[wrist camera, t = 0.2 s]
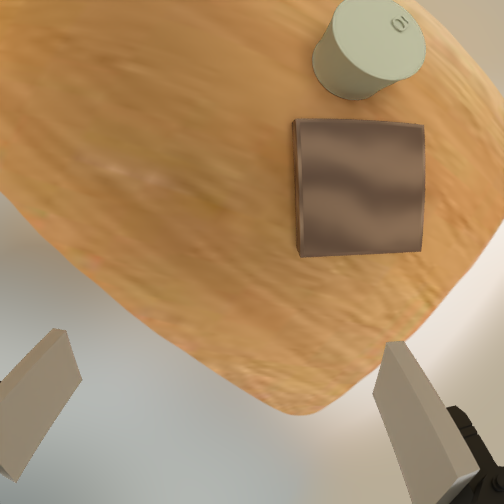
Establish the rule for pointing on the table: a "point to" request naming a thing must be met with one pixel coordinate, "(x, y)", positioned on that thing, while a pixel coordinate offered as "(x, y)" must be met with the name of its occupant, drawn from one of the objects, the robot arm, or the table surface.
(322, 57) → the can
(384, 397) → the robot arm
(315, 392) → the table surface
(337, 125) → the brown flat square block
